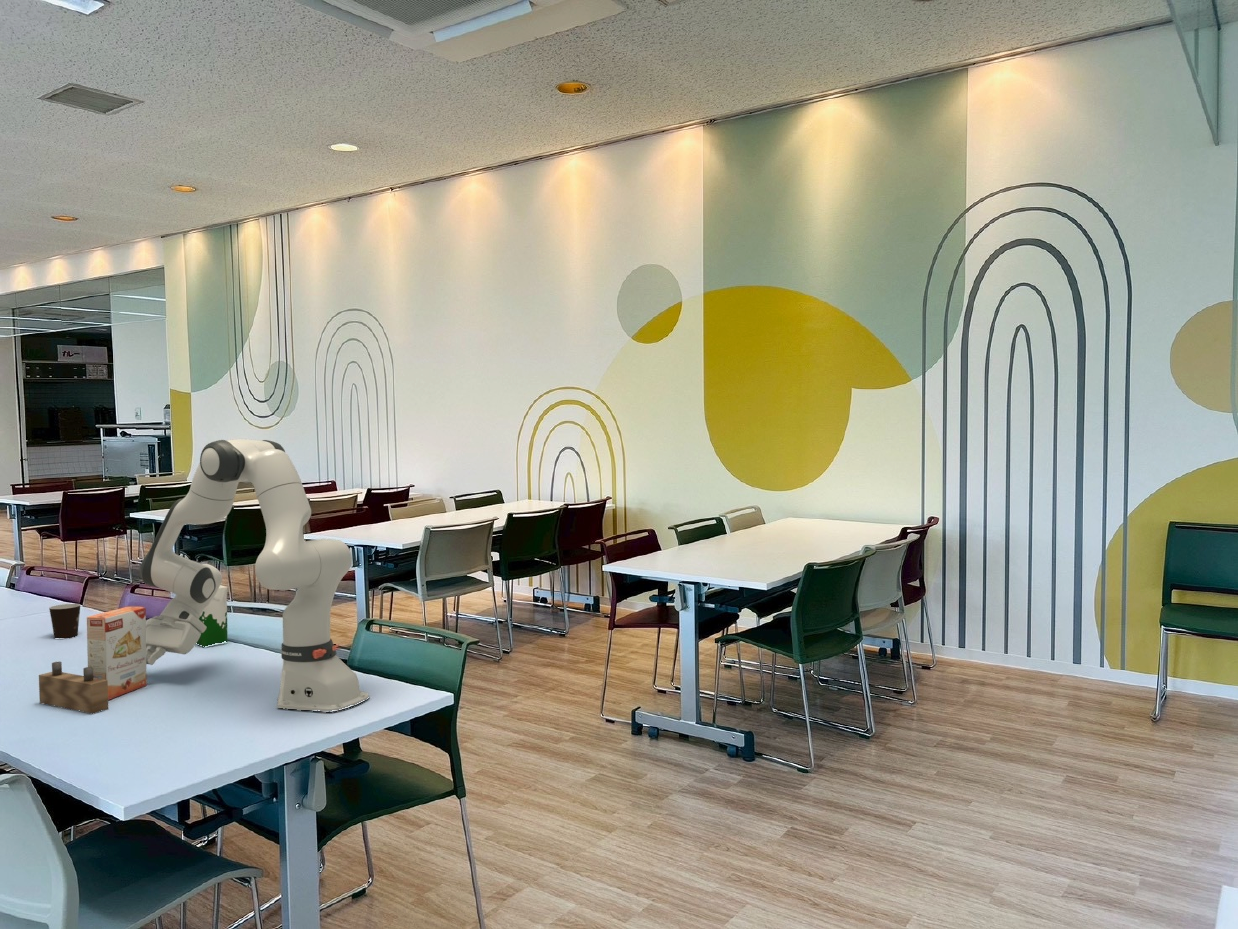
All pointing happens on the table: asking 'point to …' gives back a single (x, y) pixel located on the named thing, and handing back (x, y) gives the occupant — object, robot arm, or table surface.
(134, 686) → the cracker box
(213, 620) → the milk carton
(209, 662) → the table surface
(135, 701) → the table surface
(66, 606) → the coffee mug
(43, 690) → the walnut bar
